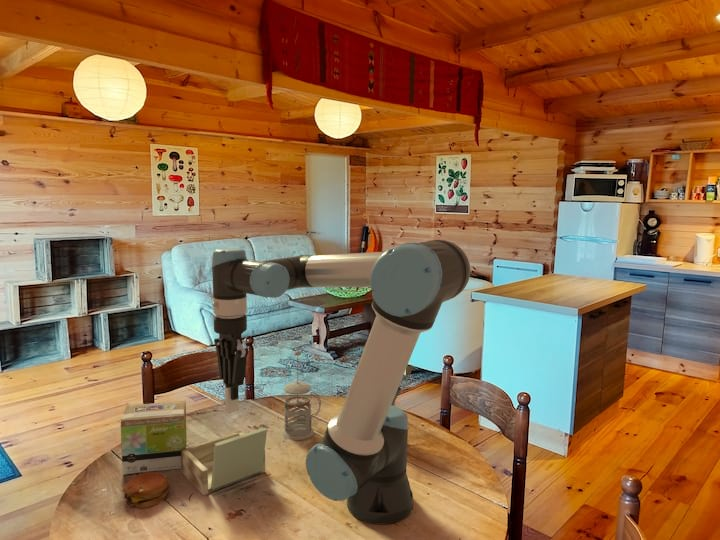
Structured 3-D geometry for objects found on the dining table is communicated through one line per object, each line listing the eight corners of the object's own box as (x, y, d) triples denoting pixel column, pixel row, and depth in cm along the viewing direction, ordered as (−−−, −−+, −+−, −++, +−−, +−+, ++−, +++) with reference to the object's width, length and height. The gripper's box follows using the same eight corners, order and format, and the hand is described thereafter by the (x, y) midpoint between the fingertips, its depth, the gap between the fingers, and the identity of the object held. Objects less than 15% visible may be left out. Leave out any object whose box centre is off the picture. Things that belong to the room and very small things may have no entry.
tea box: (122, 477, 127) (118, 420, 125) (128, 457, 137) (125, 404, 135) (186, 468, 131) (184, 414, 129) (187, 450, 141) (185, 398, 139)
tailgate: (266, 429, 125) (264, 426, 126) (216, 446, 116) (213, 442, 117) (261, 474, 129) (259, 471, 130) (212, 493, 120) (210, 489, 121)
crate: (265, 471, 131) (264, 449, 130) (203, 495, 120) (202, 471, 119) (240, 451, 140) (240, 430, 140) (181, 471, 130) (180, 449, 129)
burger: (168, 482, 125) (167, 464, 125) (171, 503, 117) (170, 484, 116) (123, 491, 121) (122, 473, 121) (123, 514, 113) (122, 494, 112)
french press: (284, 424, 158) (283, 345, 154) (322, 425, 157) (322, 346, 153) (278, 439, 148) (277, 355, 144) (318, 440, 147) (318, 356, 144)
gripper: (203, 311, 122) (205, 405, 126) (228, 322, 113) (230, 424, 116) (232, 307, 127) (233, 398, 131) (258, 317, 117) (259, 415, 121)
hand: (232, 410), depth 123 cm, fingers closed
